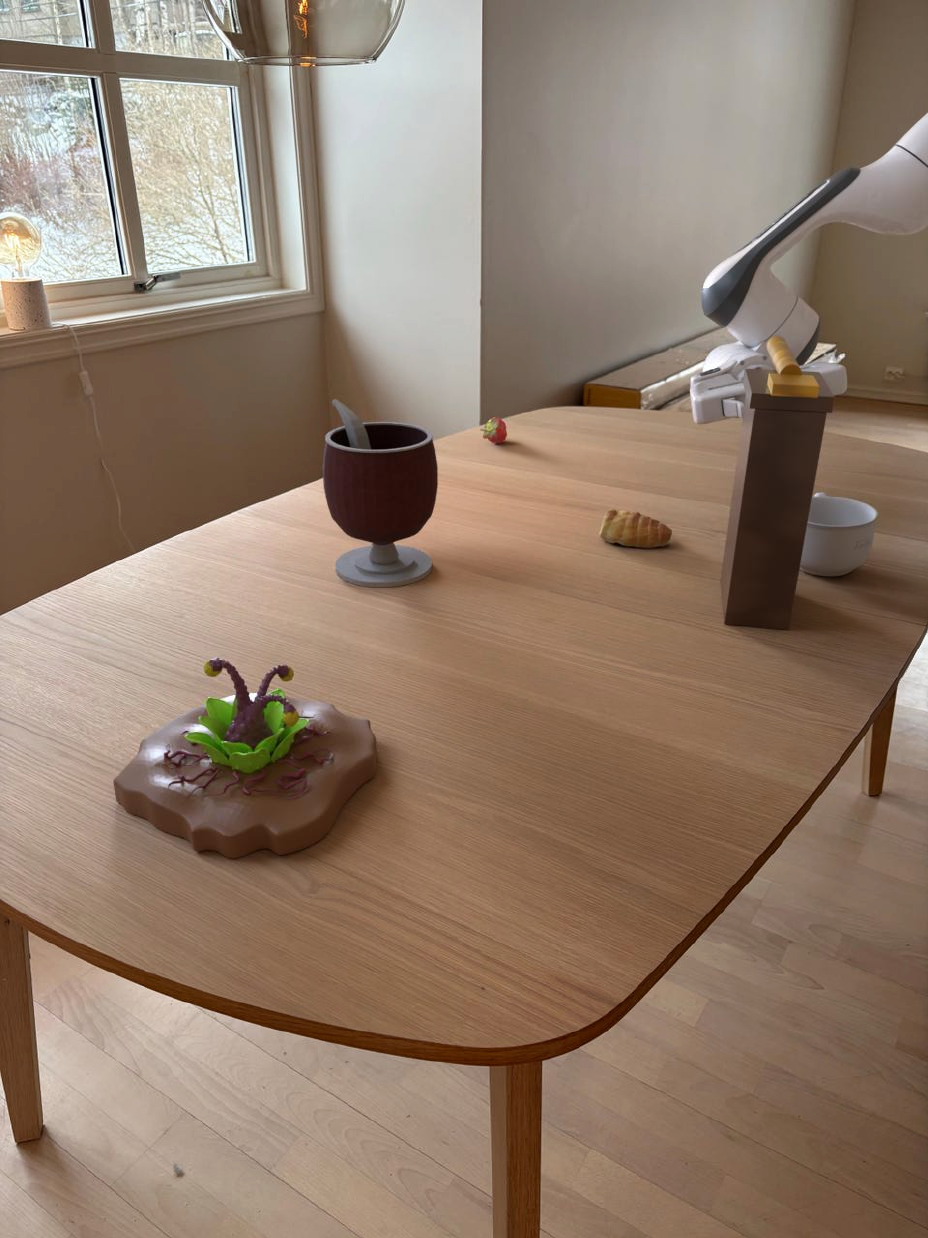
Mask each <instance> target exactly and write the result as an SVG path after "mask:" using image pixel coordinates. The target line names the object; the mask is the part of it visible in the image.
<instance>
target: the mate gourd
mask: <svg viewBox="0 0 928 1238" xmlns="http://www.w3.org/2000/svg"><path fill="white" fill-rule="evenodd" d="M331 405H332V406H333V407H335V408H336V410H337V412H338V413H339V416H340V417H341V420H342V423H343V426H339V427H336V428H334V429H332V430H330V431H328V432H327V433H326V434H325V436H324V441H325V444H324V449H323V458H322V459H323V460H322V485H323V491H324V495H325V502H326V505H327V509H328V511H329V514H330V516H331V518H332V520H333V522H335V523H336V525H337V526H338V527H339V528H340V529H341V530H342V531H343V533H344V534H346V535H347V536H349V537H350V538H352V539H355V540H359V541H364V542H367V543H372V544H371V545H367V546H361V547H358V548H355V549H351V550H348V551H346V552H344V553H343V554H341V555H340V556H339V557H338V558H337V559H336V561H335V565H334V566H335V573H336V575H337V576H338V578H339V579H341V580H343V581H345V582H347V583H350V584H352V585H356V586H361V587H367V588H395V587H401V586H406V585H410V584H413V583H416V582H419V581H421V580H423V579H424V578H426V577H427V576H428V575H429V574H430V573H432V569H433V560H432V558H431V556H430V555H429V554H428V553H426V552H425V551H422V550H421V549H418V548H415V547H411V546H407V545H400V544H395V542H399V541H403V540H406V539H409V538H411V537H414V536H415V535H417V534H419V533H420V531H421V530H422V529H423V528H424V526H425V525H426V524H427V522H428V521H429V520H430V519H431V517H432V516H433V513H434V509H435V505H436V500H437V494H438V486H439V481H438V480H439V479H438V478H439V477H438V476H439V475H438V473H439V472H438V469H439V468H438V460H437V454H436V447H435V444H434V440H433V438H434V435H433V432H431V430H429V429H428V428H426V427H424V426H420V425H417V424H412V423H406V422H398V421H397V422H396V421H394V422H393V421H370V422H369V421H368V422H362V420H361V419H360V418H359V417H358V416H357V414H356V413H355V412H354V411H352V410H351V409H350V408H349V407H347V406H346V405H345V404H344V403H343V402H340V400H338V399H337V398H334V399H332V401H331Z"/></svg>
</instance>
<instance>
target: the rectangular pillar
mask: <svg viewBox="0 0 928 1238" xmlns="http://www.w3.org/2000/svg"><path fill="white" fill-rule="evenodd" d="M769 373H773V374H778V373H777V371H776V370H763V369H745V370H744V378H743V385H744V389H745V392H746V397H745V404H744V412H743V418H741V428H740V434H739V441H738V449H737V455H736V457H737V458H736V463H735V464H736V465H735V471H734V479H733V486H732V494H731V500H730V501H731V502H730V507H729V508H730V509H729V516H728V523H727V530H726V536H725V537H726V539H725V544H724V551H723V558H722V561H723V562H722V565H721V566H722V567H721V574H720V593H721V603H722V615H723V625H729V626H738V627H739V626H740V627H749V628H751V627H752V628H761V629H762V628H763V629H771V630H772V629H773V630H782V631H785V630H786V631H790V627H791V626H790V625H791V619H792V615H793V608H794V603H795V597H796V591H797V586H798V581H799V580H798V579H799V573H800V570H801V569H800V563H801V558H802V552H803V546H804V541H805V535H806V529H807V523H808V518H809V512H810V506H811V501H812V497H813V496H814V495H813V494H814V488H815V484H816V477H817V472H818V465H819V461H820V455H821V448H822V443H823V437H824V431H825V427H826V420H827V415H828V414H832V413H833V411H834V406H835V405H834V404H835V400H836V396H834V395H833V393H832V392H831V390H830V389H829V387H828V385H827V384H826V382H825V380H824V379H823V377H822V375H821V374H820V372H808V371H802V375H813V376H814V378H815V380H816V381H817V383H818V385H819V392H818V397H817V398H805V397H787V396H771V393H770V391H769V388H768V385H767V383H768V376H769Z"/></svg>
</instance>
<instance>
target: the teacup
mask: <svg viewBox="0 0 928 1238" xmlns="http://www.w3.org/2000/svg"><path fill="white" fill-rule="evenodd" d="M878 518H879V512H878V510H877V509H876V508H874V506H873V505H870V504H868V503H866V502H863V501H860V500H859V499H858V500H857V499H853V498H849V497H848V498H847V497H841V496H832V495H831V496H829V494H828V493H826V492H816V493H815V494H814V495H813V496H812V501H811V506H810V512H809V518H808V523H807V529H806V535H805V541H804V546H803V552H802V558H801V563H800V569H799V570H801V571H803V572H805V573H807V574H810V575H814V576H819V577H820V576H821V577H840V576H844V575H847V574H849V573H851V572H852V571H854V570H856V569H857V568H859V567H861V566H862V565H863V564H864V563H865V562H866V561H867V560H868V558H869V556H870V553H871V550H872V546H873V542H874V536H875V532H876V525H877V524H876V523H877V520H878Z"/></svg>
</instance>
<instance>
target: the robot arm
mask: <svg viewBox="0 0 928 1238" xmlns="http://www.w3.org/2000/svg"><path fill="white" fill-rule="evenodd" d="M831 223H843V224H849V225H852V226H856V227H858V228H861V229H865V230H867V231H871V232H874V233H876V234H880V235H883V236H890V237H903V236H911V235H913V234H917V233H919V232H921V231H923V230H925V229H927V227H928V112H927V113H925V114H924V115H923V116H922V117H921V118H920V119H919V120H918V121H917V122H916V123H914V125H913V126H912V127H911V128H909V130H907V132H906V133H904V134H903V135H902V136H901V137H900V139H899V140H898V141H897V142H896V143H895V144H894V145H893V146H892V147H891V149H889V150H888V151H887V152H886V153H885V154H884V155H882V156H881V157H880V158H878V159H877V160H875V161H874V162H872V163H870V164H868V165H865V166H863V167H861V168H858V167H854V166H853V167H852V166H848V167H845V168H843V169H840V170H839V171H837V172H835V173H834V174H832V175H830V176H829V177H828V178H826V179H825V180H824V181H822V182H821V183H819V184H818V185H817V186H816V187H814V188H813V189H812V190H811V191H809V192H808V193H807V194H805V196H803V197H802V198H801V199H800V200H799V201H797V202H796V203H795V204H794V205H792V206H791V207H790V208H788V209H787V210H786V211H785V212H784V213H783V214H781V216H779V217H778V218H777V219H776V220H774V221H773V222H772V223H770V225H768V226H767V227H766V228H765V229H763V230H762V231H761V232H760V233H759V234H758V235H756V236H755V237H753V239H752V240H750V241H749V242H748V243H747V244H746V245H744V246H742V247H741V248H740V249H738V250H737V251H736V252H735V253H733V254H732V255H730V256H729V257H728V258H725V259H724V260H723V261H722V262H720V263H719V264H718V265H717V266H715V267H714V268H713V269H712V270H711V271H710V273H709V274H708V275H707V277H706V278H705V280H704V281H703V283H702V285H701V287H700V302H701V309H702V312H703V315H704V316H706V318H708V319H709V320H711V321H712V322H713V323H715V324H716V325H718V326H720V328H722V329H724V330H726V331H727V332H728V333H729V334H730V335H732V337H734V338H735V339H736V340H737V341H735V342H732V343H726V344H723V345H719V346H717V347H715V348H714V349H713V350H711V351H710V353H708V354H707V356H706V358H705V359H704V362H703V365H702V369H701V370H702V371H701V372H700V373H697V374H695V375H692V376H691V377H690V384H689V385H690V388H689V392H690V393H689V396H690V405H691V411H692V418H693V419H692V420H693V422H694V423H695V424H696V425H708V424H713V423H716V422H721V421H724V420H725V421H726V420H730V419H743V412H744V404H745V397H746V392H745V389H744V385H743V378H744V370H745V369H763V370H776V369H775V366H774V364H773V362H772V359H771V357H770V355H769V352H768V350H767V342H768V341H769V339H770V338H772V337H774V336H781V337H783V338H784V339H785V341H786V343H787V345H788V347H789V348H790V350H791V352H792V354H793V356H794V358H795V359H796V361H797V363H798V365H799V367H800V369H801V371H808V372H820V374H821V375H822V377H823V379H824V380H825V382H826V384H827V385H828V387H829V389H830V390H831V392H832V393H833V395H834V397H836V396H840V395H842V394H844V393H845V392H846V391H847V389H848V374H847V369H846V366H845V365H843V364H840V363H835V362H828V361H815V362H810V363H807V361H808V360H809V359H810V358H811V357H812V356H813V354H814V352H815V351H816V349H817V347H818V343H819V339H820V335H821V334H820V333H821V317H820V315H819V313H817V312H816V311H815V310H814V309H813V307H811V306H810V305H809V304H808V303H807V302H806V301H804V299H803V298H801V297H800V296H799V295H798V294H796V293H795V292H793V291H792V290H791V289H790V287H788V286H787V285H786V284H785V283H784V282H782V281H781V280H780V279H779V278H778V277H777V276H776V275H775V274H774V273H773V272H772V270H771V267H772V266H773V265H774V264H775V263H776V262H777V261H778V260H779V259H781V258H782V257H783V256H785V255H786V254H787V253H789V251H790V250H792V249H793V248H794V247H795V246H796V245H798V244H800V243H801V241H803V240H804V239H806V238H807V237H808V236H809V235H810V234H812V232H814V231H815V230H816V229H818V228H821V227H822V226H824V225H827V224H831Z"/></svg>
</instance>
